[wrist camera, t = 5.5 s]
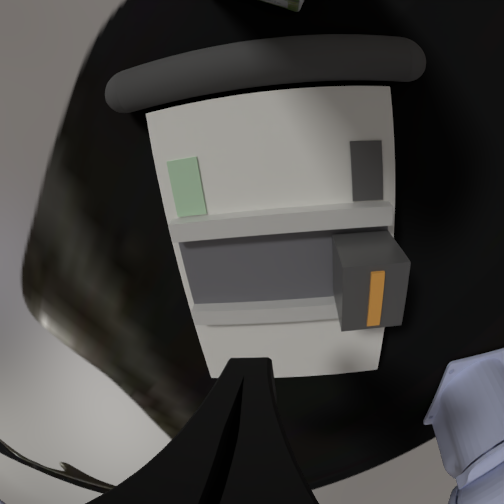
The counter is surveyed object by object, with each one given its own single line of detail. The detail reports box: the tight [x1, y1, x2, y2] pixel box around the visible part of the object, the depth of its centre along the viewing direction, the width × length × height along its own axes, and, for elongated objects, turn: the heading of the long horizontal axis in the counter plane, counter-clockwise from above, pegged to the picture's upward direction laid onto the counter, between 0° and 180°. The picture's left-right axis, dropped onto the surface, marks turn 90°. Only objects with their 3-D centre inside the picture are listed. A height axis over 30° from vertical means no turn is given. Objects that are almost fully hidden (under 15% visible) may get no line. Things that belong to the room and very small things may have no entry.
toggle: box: [332, 230, 411, 332], centre depth 14 cm, size 3×3×4 cm
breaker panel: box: [146, 86, 395, 378], centre depth 17 cm, size 18×12×2 cm, turn 7°
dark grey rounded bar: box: [105, 34, 426, 113], centre depth 13 cm, size 2×16×2 cm, turn 98°
